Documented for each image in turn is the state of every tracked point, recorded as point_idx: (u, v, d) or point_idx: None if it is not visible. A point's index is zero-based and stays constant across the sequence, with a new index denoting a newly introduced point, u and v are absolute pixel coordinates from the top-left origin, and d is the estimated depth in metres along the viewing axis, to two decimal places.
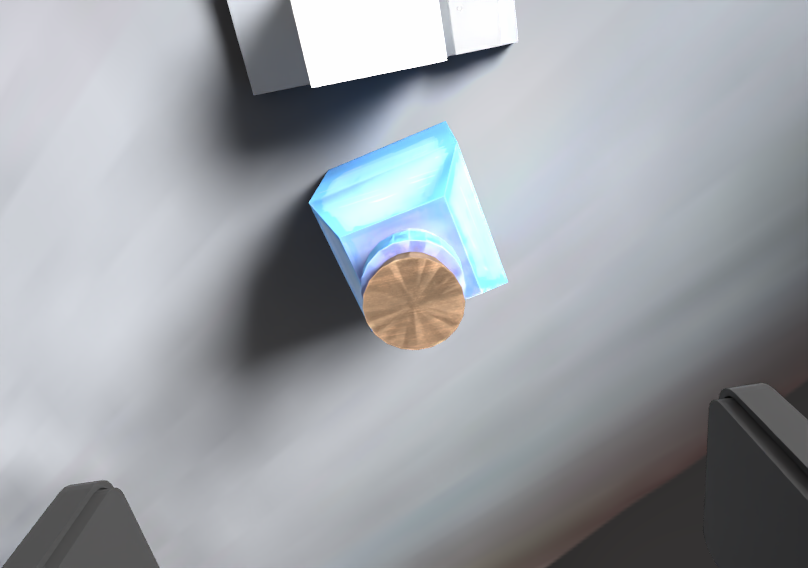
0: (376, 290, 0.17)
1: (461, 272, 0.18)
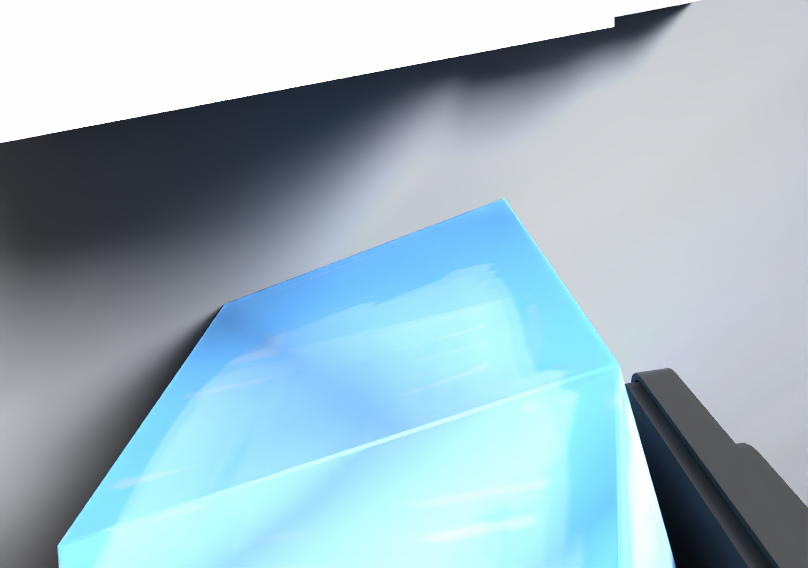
0: None
1: None
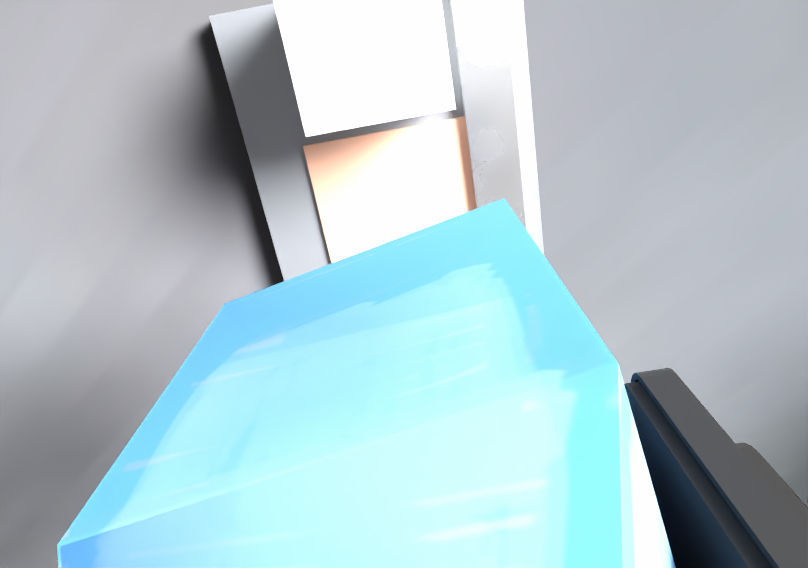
0: None
1: None
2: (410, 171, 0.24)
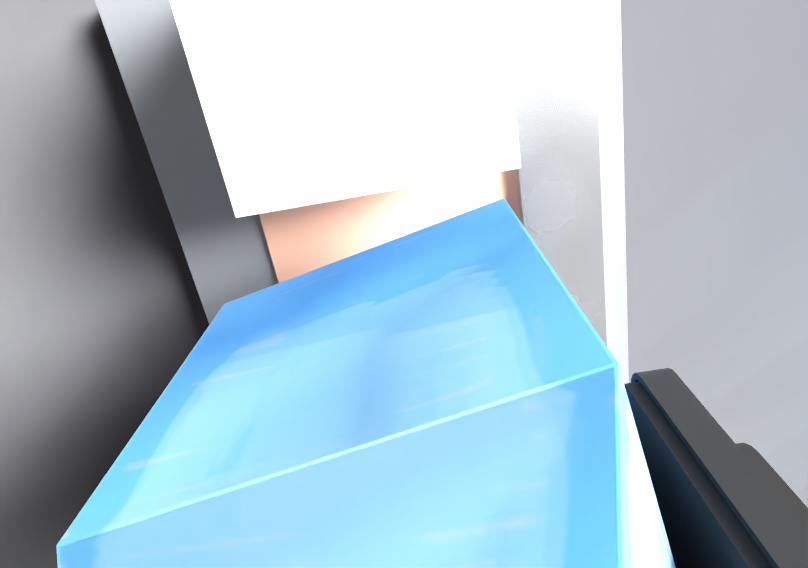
0: None
1: None
2: None
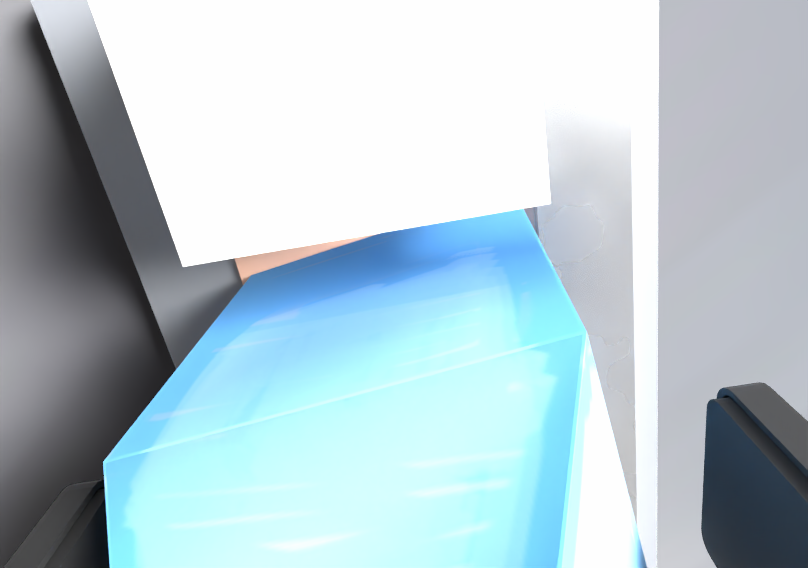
0: None
1: None
2: None
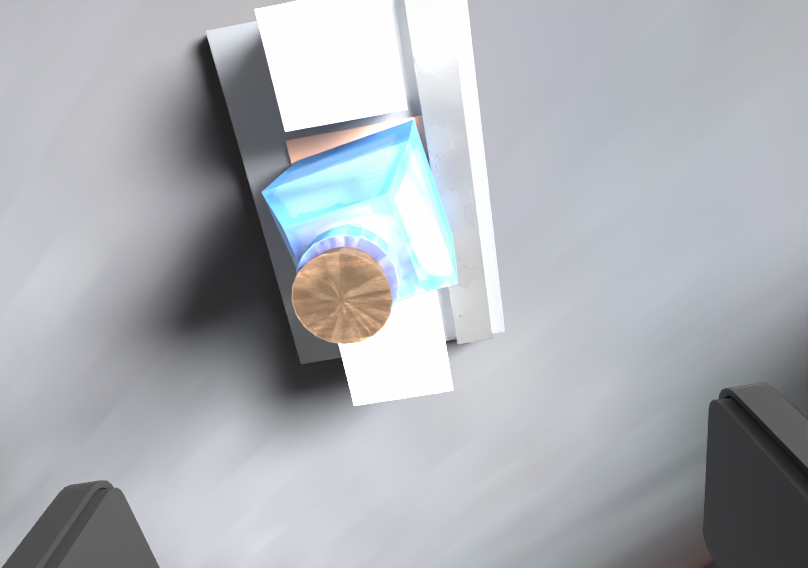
0: (305, 282, 0.17)
1: (395, 270, 0.18)
2: None
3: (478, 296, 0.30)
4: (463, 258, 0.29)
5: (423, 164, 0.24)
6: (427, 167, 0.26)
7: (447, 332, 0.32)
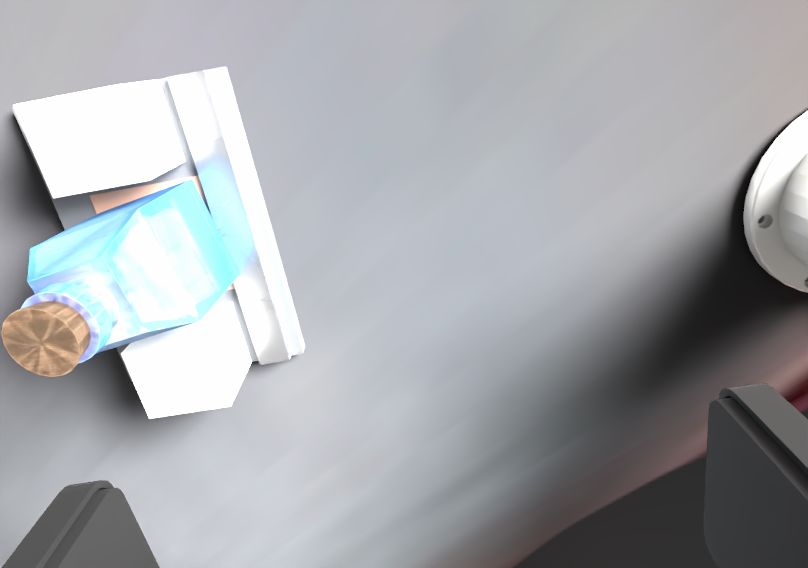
0: (10, 330, 0.22)
1: (93, 318, 0.23)
2: None
3: (271, 324, 0.35)
4: (252, 292, 0.34)
5: (180, 221, 0.29)
6: (198, 220, 0.31)
7: (253, 354, 0.37)
